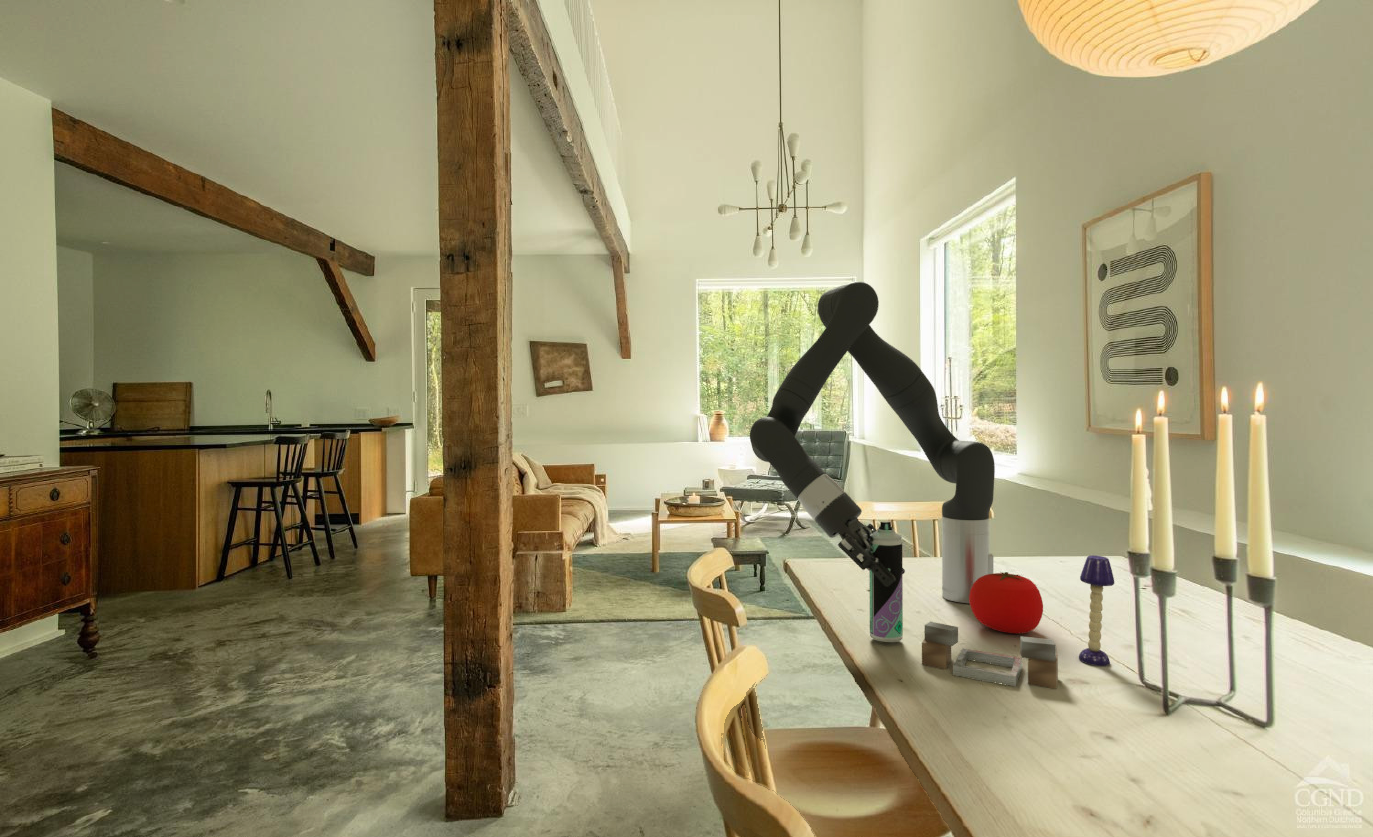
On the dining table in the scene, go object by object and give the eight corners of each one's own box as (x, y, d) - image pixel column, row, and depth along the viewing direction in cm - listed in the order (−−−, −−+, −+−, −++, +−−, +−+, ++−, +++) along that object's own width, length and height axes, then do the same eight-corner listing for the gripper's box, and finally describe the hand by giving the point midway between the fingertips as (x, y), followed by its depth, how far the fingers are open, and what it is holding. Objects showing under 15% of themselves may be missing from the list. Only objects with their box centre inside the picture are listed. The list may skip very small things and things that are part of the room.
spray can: (885, 644, 115) (885, 525, 115) (863, 634, 120) (862, 520, 120) (909, 638, 118) (909, 522, 117) (886, 629, 122) (886, 518, 122)
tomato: (1051, 629, 124) (1051, 572, 124) (1031, 646, 116) (1031, 584, 116) (984, 616, 133) (983, 562, 132) (960, 631, 124) (960, 573, 124)
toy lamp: (1110, 658, 110) (1110, 554, 110) (1117, 669, 105) (1117, 560, 105) (1076, 655, 111) (1076, 552, 111) (1082, 665, 107) (1082, 558, 107)
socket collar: (952, 675, 103) (952, 665, 103) (963, 657, 111) (963, 648, 111) (1015, 687, 99) (1015, 676, 99) (1022, 667, 106) (1022, 658, 106)
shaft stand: (921, 664, 108) (921, 627, 108) (928, 656, 112) (927, 620, 112) (1055, 689, 98) (1055, 648, 98) (1057, 678, 102) (1057, 639, 102)
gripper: (829, 496, 116) (901, 575, 110) (855, 487, 128) (922, 557, 122) (800, 525, 119) (869, 603, 113) (828, 513, 131) (892, 583, 125)
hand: (896, 579), depth 118 cm, fingers closed on spray can, 5 cm apart
